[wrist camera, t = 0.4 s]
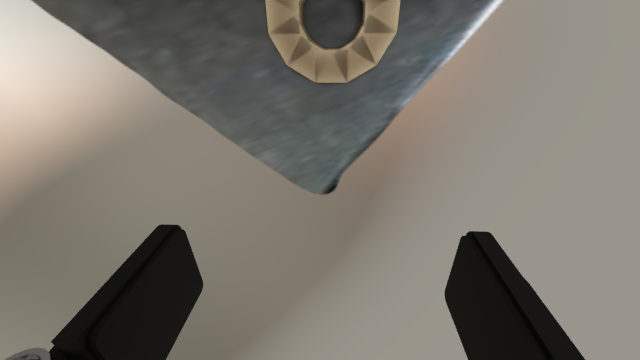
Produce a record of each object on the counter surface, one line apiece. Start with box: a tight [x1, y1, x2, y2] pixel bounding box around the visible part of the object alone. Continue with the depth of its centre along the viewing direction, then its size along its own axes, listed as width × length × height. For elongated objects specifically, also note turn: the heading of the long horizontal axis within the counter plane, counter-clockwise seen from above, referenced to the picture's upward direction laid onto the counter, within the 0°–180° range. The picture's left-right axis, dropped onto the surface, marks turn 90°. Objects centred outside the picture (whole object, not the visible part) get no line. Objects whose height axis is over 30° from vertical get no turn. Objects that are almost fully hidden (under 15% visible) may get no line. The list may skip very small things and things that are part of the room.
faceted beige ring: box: [265, 0, 400, 83], centre depth 30 cm, size 14×14×4 cm
